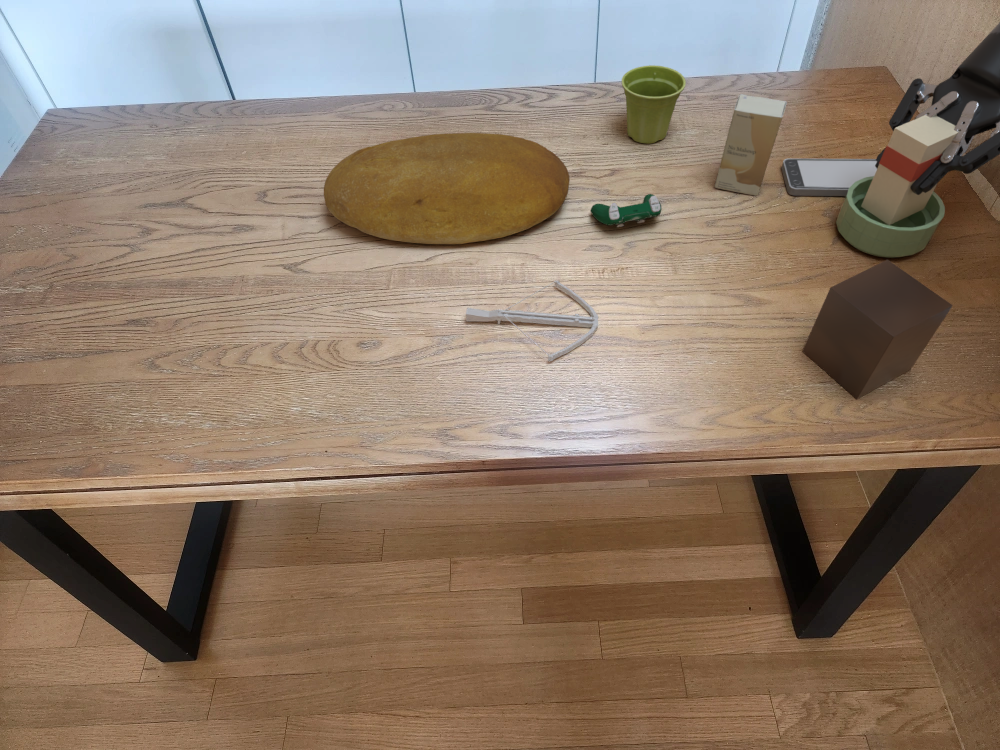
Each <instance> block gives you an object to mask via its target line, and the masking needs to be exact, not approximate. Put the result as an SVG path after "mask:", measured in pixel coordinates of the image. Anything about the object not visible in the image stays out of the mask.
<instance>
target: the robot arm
mask: <svg viewBox="0 0 1000 750" xmlns="http://www.w3.org/2000/svg"><path fill="white" fill-rule="evenodd" d="M930 98H932V99H931V106H929V107H928V108H926V109H925V110H923V111H921V112H920V113H918V114H916V111H918V108H919V107H920V105H922V104H925V103H926V102H927V101H928V100H929V99H930ZM915 114H916V116H914V115H915ZM927 114H929V115H927ZM924 115H926V116H928V117H930V118H931V117H935V116H938V117H940V118H942V119H944V120H945V121H947V122H949V123H951V124H953V125H955V126H956V127H955V129H954V130H955V131H957V132H958V134H957V135H956V136H955V137H954V138H953V140H952V142H951V144H950V145H949V146H948V147H947V148H946V149H945V150H944V152H943V154H942V156H941V159H940V160H939V161H937V160H935V161H934V162H933V163H932V164H931V165H930V167H929V168H928V169H927V170H926V171H925V172H924V173H923V174H922V175H921V176H920V177H919V178H918V179H917V180H916V181H915V182H914V183H913V184H912V185H911V187H910V188H911V190H912V191H913V192H914V193H915V194H917V195H920V194H921V193H922V192H924V193H926V192H928V191H930V190H931V189H932V188H933V187H934V186H935V185H936V184H937V185H938V183H939V182H940V181H941V180H942V179H943V178H944V177H945V176H946V175H947V174H948V173H950V172H953V171H956V172H962V173H963V174H964V175H969V174H972V173H973V172H975V171H976V170H978V169H980V167H983V166H984V165H986V164H987V163H989V162H990V161H992V160H993V159H995V158H997V157H998V156H999V155H1000V21H999V22H998V23H997V24H996V25H995V27H994V28H993V29H992V30H991V31H990V32H989V33H988V34H987V35H986V36H985V37H984V38H983V40H982V41H981V42H980V43H979V44H978V45H977V46H976V47H975V48H974V49H973V51H971V52H970V53H969V54H968V55H967V57H966V58H965V59H964V60H963V61H962V62H961V63H960V64H959V65H958V67H957V68H956V69H955V71H954V72H953V73H952V75H951V76H950V77H948V78H947V79H945V80H943V81H941V82H940V83H938V84H931V83H925V82H924V81H923V79H922V78H919V77H918V78H915V79H913V80H912V81H911V83H910V85H909V86H908V88H907V90H906V91H905V93H904V95H903V96H902V98H901V100H900V101H899V104H898V105H897V107H896V109H895V111H894V112H893V114H892V116H891V118H890V119H889V121H888V125H889V127H890V129H891V130H892V133H893V132H894V129H895V128H896V127H898V126H901V125H903V124H905V123H908V122H910V121H912V119H913V117H914V119H913V120H915V119H917V118H920V117H922V116H924ZM990 130H993V131H992V132H991V133H990V135H989V136H990V137H989V138H988V139H986V140H985V141H983V142H982V143H980V144H979V145H977V146H976V147H974V148H973V149H971V150H970V151H968V149H969V147H970V145H971V143H972V142H973V139H974V137H975V136H977V135H979V134H982V133H985V132H989V131H990ZM959 131H960V132H959ZM885 148H886V146H885V147H884V149H883V150H882V151H880V153H879V154H878V155H877V156H876V158H875V159H876V161H877V163H876V165H875V167H876V168H878V166H879V162H880V160H881V158H882V155H883V153H884V151H885ZM967 151H968V152H967ZM966 152H967V153H966ZM937 185H936V186H937Z"/></svg>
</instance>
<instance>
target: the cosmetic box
mask: <svg viewBox="0 0 1000 750" xmlns="http://www.w3.org/2000/svg"><path fill="white" fill-rule="evenodd" d="M787 104H788V102H787V101H786V100H781V99H773V98H769V97H765V96H754V95H748V94H742V93H739V95H738V96H737V99H736V103H735V106H734V109H733V113H732V117H731V121H730V124H729V128H728V133H727V137H726V139H725V144H724V147H723V152H722V154H721V155H722V156H721V160H720V164H719V167H718V172H717V175H716V179H715V183H714V188H715V189H718V190H724V191H729V192H734V193H739V194H745V195H749V196H755V197H757V196H758V195H759V193H760V190H761V186H762V183H763V181H764V177H765V174H766V170H767V167H768V165H769V161H770V159H771V155H772V152H773V149H774V146H775V143H776V140H777V136H778V133H779V130H780V126H781V125H782V124H781V123H782V120H783V117H784V114H785V110H786V108H787Z"/></svg>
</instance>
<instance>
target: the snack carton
mask: <svg viewBox="0 0 1000 750" xmlns="http://www.w3.org/2000/svg"><path fill="white" fill-rule="evenodd" d="M927 115H929V114H927ZM914 119H915V118H914ZM914 119H913V120H910V122H908V123H905V124H903V125H901V126H898V127H896V128H895V129H894V132H893V131H892V134H891V136H890V139H889V141H888V143H887V145H886V146H885V147H886V148H885V147H884V149H885V151H884V153H883V155H882V158H881V160H880V162H879V166H878V168H877V171H876V173H875V175H874V178H873V180H872V182H871V184H870V187H869V189H868V191H867V194H866V196H865V198H864V201H863V203H862V205H861V207H862V208H864V209H865V210H867V211H868V212H870V213H871V214H873V215H874V216H876V217H877V218H879V219H880V220H882V221H883V222H885V223H886V224H888V225H891V224H893V223H895V222H897V221H899V220H902V219H904V218H906V217H908V216H910V215H912V214H914V213H916V212H918V211H921V210H923V209H924V208H925V206H926V204H927V202H928V200H929V198H930V197H931V195H932V193H933V191H934V192H935V189H936V187H937V185H938V183H937V184H936V185H935V186H934V187H933V188H932V189H931V190H930V191H928V192H926V193H924V192H922V193H921V194H920V195H917V194H915V193H914V192H913V191H912V190H911V188H910V187H911V185H912V184H913V183H914V182H915V181H916V180H917V179H918V178H919V177H920V176H921V175H922V174H923V173H924V172H925V171H926V170H927V169H928V168H929V167H930V165H931V164H932V163H933V162H934V161H935V160H937V161H939V160H940V159H941V156H942V154H943V152H944V150H945V149H946V148H947V147H948V146H949V145H950V144H951V142H952V140H953V138H954V137H955V136H956V135H957V134H958V132H957V131H955V130H954V129H955V127H956V126H955V125H953V124H951V123H949V122H947V121H945V120H944V119H942V118H940V117H938V116H935V117H931V118H930V117H928V116H926V115H924V116H922V117H920V118H917V119H915V120H914ZM959 132H960V131H959Z"/></svg>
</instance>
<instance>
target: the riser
mask: <svg viewBox="0 0 1000 750" xmlns="http://www.w3.org/2000/svg"><path fill="white" fill-rule="evenodd" d="M952 308H953V304H952V303H951V302H949V301H948V300H946V299H945V298H943V297H942V296H940V295H939V294H938V293H937V292H935V291H933V290H932V289H931V288H929V287H927V285H925V284H923V283H922V282H921V281H919V280H918V279H916V278H915V277H913V276H912V275H911V274H909V273H907V272H906V271H905V270H903V269H902V268H900V266H897V265H896V264H895V263H894V262H892V261H890V260H889V259H885V260H883V261H882V262H879V263H877V264H875V265H873V266H871V267H869V268H867V269H865V270H862V271H861V272H858V273H857V274H855V275H853V276H851V277H848V278H847V279H845V280H842V281H841V282H839V283H837V284H834V285H832V286H831V287H829V289H828V292H827V294H826V297H825V298H824V301H823V303H822V305H821V307H820V310H819V312H818V315H817V317H816V319H815V321H814V324H813V326H812V328H811V330H810V332H809V335H808V337H807V339H806V342H805V343H804V346H803V348H802V353H804V354H805V355H806V356H807V357H808V358H809V359H811V360H812V362H814V363H815V365H817V366H818V367H819V368H821V369H822V370H823V371H824V372H825V373H826V374H827V375H829V377H831V378H832V379H833V380H834V381H835V382H836V383H838V384H839V385H840V386H841V387H842V388H843V389H844V390H846V391H847V392H848V393H849V394H850V395H851V396H852V397H853V398H855V399H856V400H858V399H860V398H862V397H864V396H865V395H868V394H870V393H871V392H873V391H875V390H876V389H878V388H881V387H882V386H884V385H886V384H887V383H889V382H890V381H893V380H895V379H896V378H898V377H900V376H902V375H904V374H906V373H907V372H909V371H912V368H913V367H914V365H915V364H916V363H917V362H918V359H919V358H920V357H921V355H922V353H923V352H924V351H925V349H926V348H927V346H928V344H929V343H930V341H931V339H933V336H935V334H936V332H937V330H938V329H939V327H940V326H941V324H942V323H943V321H944V320H945V319H946V317H947V315H949V314H948V313H949V312H950V311H951V309H952Z"/></svg>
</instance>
